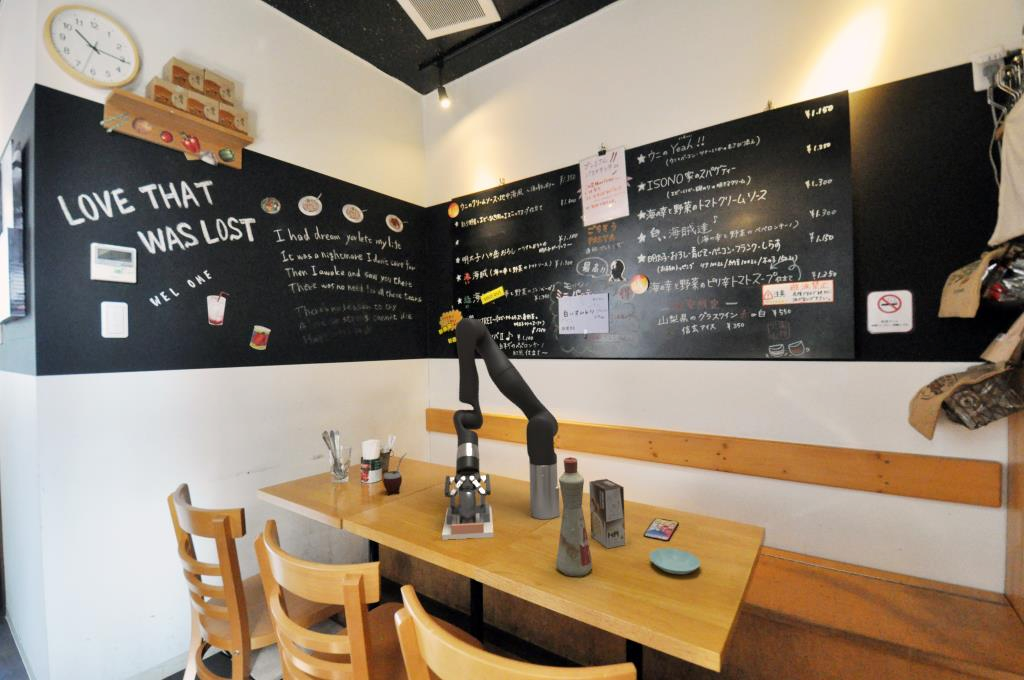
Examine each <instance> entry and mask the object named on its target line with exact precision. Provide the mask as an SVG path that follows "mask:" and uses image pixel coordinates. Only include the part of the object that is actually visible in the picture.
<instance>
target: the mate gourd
mask: <svg viewBox="0 0 1024 680" xmlns="http://www.w3.org/2000/svg"><path fill="white" fill-rule="evenodd" d="M406 455H407V452H406V453H404V455H402V456H401V458H400V459H399V460H398V461H399V462H398V464H397V468H396V470H391V471H387V472H385V473H384V475H383V480H382V483H383V486H384V489H385V493H386V496H387V495H388V496H392V495H400V494H399V493H400V489H401V485H402V482H403V478H402V474H401V472H400V471H399V469H400V466H401V463H402V460H403V459H404V458H405V457H406ZM393 493H394V494H393Z"/></svg>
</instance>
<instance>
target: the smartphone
mask: <svg viewBox="0 0 1024 680" xmlns="http://www.w3.org/2000/svg"><path fill="white" fill-rule="evenodd" d="M679 523H680V522H678V521H677V520H672V519H666V518H659V517H655V518H654V519H653V521H652V522H651V523H650V524H649V526H648V528H647V529H646V530H645V531H644V533H643V537H644V538H646V539H650V540H657V541H660V542H661V541H662V542H668V543H669V542H670V541H671V539H672V537H673V536H674V534H675V532H676V530H677V529H678V527H679V526H680V525H679Z"/></svg>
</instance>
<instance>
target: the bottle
mask: <svg viewBox="0 0 1024 680" xmlns="http://www.w3.org/2000/svg"><path fill="white" fill-rule="evenodd" d="M563 466H564V467H563V468H564V472H563V473H562V474H561V476H560V477H559V479H558V481H559V486H560V488H559V490H560V494H561V499H562V505H563V506H562V513H561V524H560V531H559V532H560V533H559V540H558V549H557V556H556V561H555V566H556V568H557V569H558V570H559V571H560V572H562V573H563V574H565V576H572V577H584V576H586V575H588V573H590V571H591V569H592V567H593V560H592V554H591V549H590V544H589V543H590V542H589V538H588V532H587V526H586V519H585V515H584V511H583V510H584V509H583V506H582V505H583V498H584V496H583V494H584V484H585V479H584V477H583V476H582V475H581V474H580V473H579V471H578V459H577V458H576V457H572V456H570V457H565V458H564V459H563Z"/></svg>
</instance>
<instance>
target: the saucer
mask: <svg viewBox="0 0 1024 680" xmlns="http://www.w3.org/2000/svg"><path fill="white" fill-rule="evenodd" d="M649 560H650V561H651V562H652V563H653V564H654V565H655V567H657V568H659V569H660V570H661V571H664V572H665V573H669V574H673V575H686V574H689V573H690V574H691V573H692V572H694V571H696V570H697V569H698V568H700V567H699V566H700V565H701V561H700V559H698V557H697V556H696V555H694V554H693V553H690V552H687V551H685V550H683V549H682V550H681V549H678V548H669V547H668V548H666V547H665V548H658V549H655V550H653V551H651V553H650V554H649Z"/></svg>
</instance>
